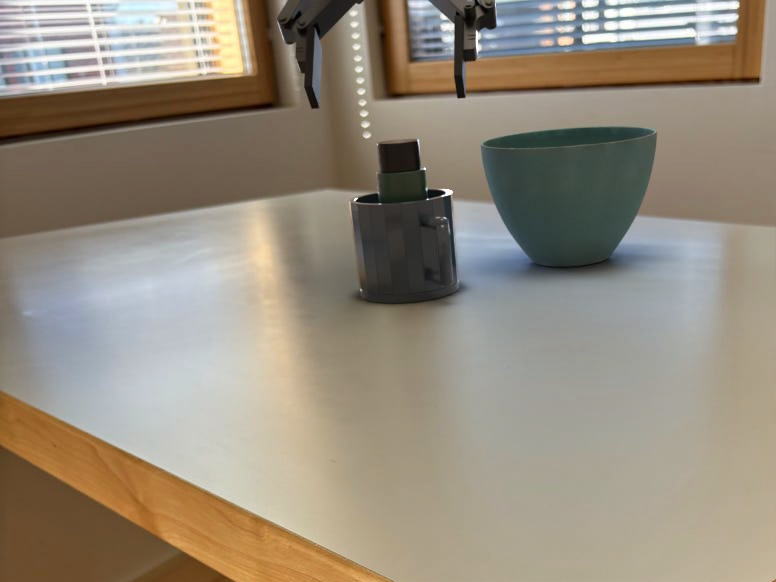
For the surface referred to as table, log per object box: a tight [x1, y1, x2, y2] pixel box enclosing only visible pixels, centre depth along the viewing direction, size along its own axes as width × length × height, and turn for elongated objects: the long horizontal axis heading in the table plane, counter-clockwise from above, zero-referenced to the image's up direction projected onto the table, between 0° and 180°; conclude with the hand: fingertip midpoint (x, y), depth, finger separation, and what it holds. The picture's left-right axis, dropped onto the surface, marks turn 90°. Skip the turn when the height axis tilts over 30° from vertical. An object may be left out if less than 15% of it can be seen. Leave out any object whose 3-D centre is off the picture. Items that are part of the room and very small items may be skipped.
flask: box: [375, 138, 428, 204], centre depth 101 cm, size 5×5×13 cm
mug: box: [348, 187, 460, 304], centre depth 101 cm, size 14×10×9 cm
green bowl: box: [479, 125, 658, 268], centre depth 110 cm, size 18×18×12 cm
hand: (385, 92), depth 93 cm, fingers open, 13 cm apart
